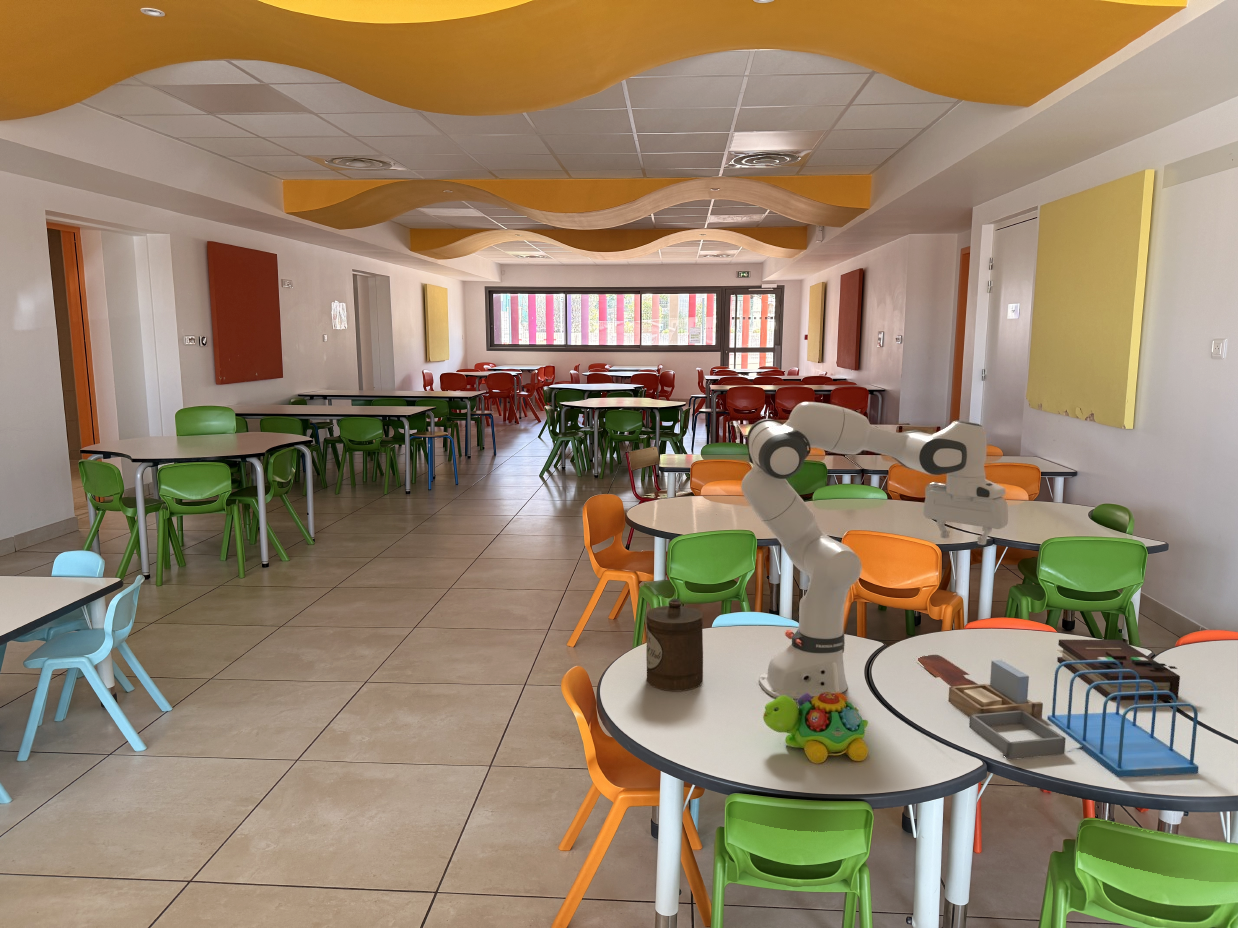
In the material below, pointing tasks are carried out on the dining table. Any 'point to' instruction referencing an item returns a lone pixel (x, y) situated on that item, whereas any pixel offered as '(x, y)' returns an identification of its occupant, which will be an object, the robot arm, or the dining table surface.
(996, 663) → the grey square block
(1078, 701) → the dining table surface
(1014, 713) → the tray
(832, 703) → the turtle toy
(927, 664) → the wooden tablet
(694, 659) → the wooden container
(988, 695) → the offcut slab upper
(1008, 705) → the divided wooden box
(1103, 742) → the file sorter
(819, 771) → the dining table surface
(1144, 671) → the decorative book
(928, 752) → the dining table surface
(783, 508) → the robot arm
